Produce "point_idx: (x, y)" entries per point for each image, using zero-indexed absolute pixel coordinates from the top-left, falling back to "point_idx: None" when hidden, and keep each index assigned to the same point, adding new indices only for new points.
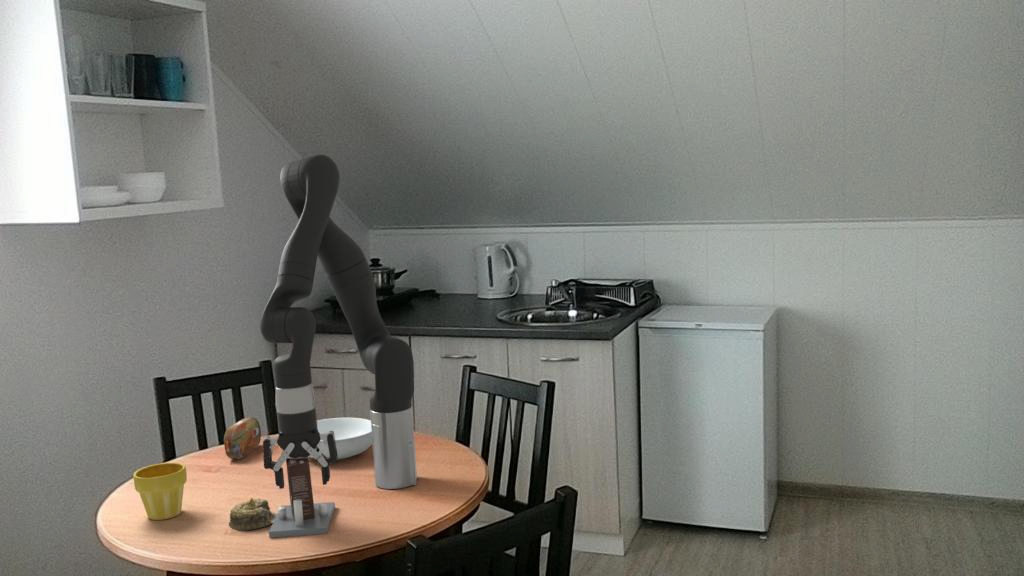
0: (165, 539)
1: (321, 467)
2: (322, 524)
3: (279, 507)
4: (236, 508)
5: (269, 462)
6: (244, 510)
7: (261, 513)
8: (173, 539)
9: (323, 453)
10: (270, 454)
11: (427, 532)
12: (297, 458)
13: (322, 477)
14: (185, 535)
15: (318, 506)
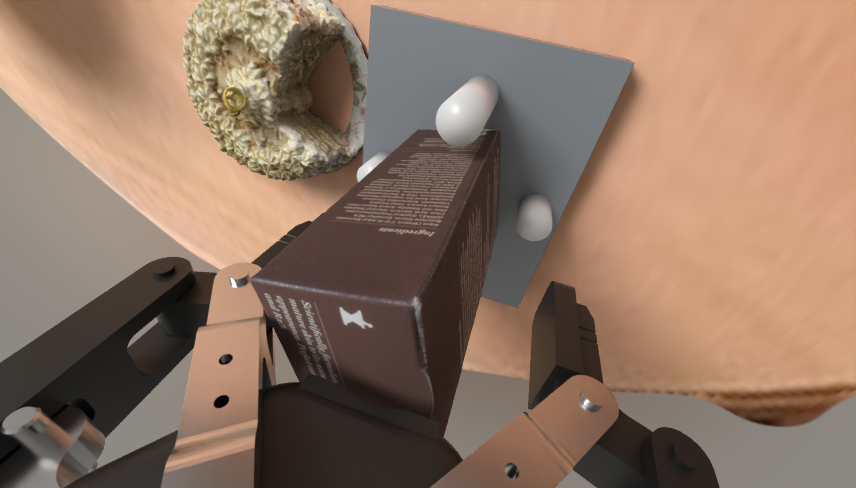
0: (104, 129)
1: (531, 406)
2: (511, 282)
3: (362, 166)
4: (202, 99)
5: (185, 352)
6: (240, 141)
7: (307, 170)
8: (125, 139)
9: (578, 460)
10: (133, 376)
11: (803, 422)
12: (353, 371)
13: (533, 352)
14: (138, 122)
15: (536, 98)
